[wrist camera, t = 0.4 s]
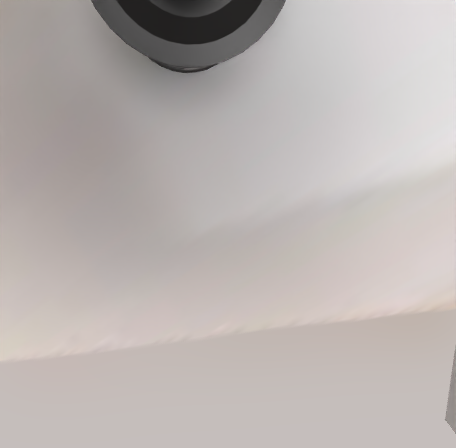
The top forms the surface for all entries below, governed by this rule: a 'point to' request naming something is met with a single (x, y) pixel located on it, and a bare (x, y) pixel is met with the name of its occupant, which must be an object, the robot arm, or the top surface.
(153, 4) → the french press
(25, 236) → the top surface
